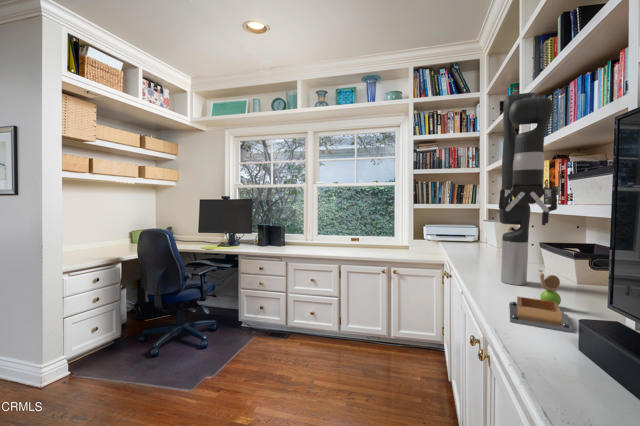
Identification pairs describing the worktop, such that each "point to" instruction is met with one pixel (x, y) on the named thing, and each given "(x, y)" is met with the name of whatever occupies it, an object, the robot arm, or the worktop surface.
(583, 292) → the worktop surface
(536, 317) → the socket plate
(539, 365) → the worktop surface
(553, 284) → the snail figurine
